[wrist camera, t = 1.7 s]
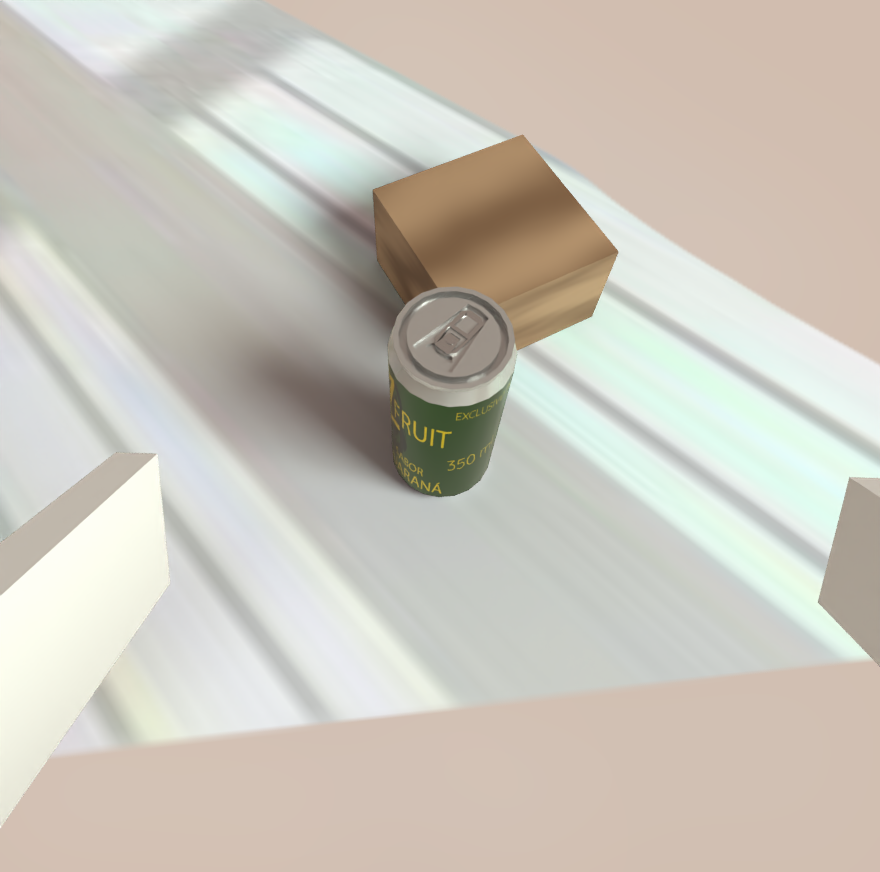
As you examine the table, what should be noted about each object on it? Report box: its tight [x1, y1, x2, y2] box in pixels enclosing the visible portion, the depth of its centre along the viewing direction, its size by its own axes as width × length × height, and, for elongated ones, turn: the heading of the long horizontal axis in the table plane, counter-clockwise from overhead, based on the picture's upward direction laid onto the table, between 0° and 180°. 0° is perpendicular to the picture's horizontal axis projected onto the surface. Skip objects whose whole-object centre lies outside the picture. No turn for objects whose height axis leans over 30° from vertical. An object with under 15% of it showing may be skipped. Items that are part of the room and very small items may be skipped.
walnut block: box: [373, 135, 618, 350], centre depth 40 cm, size 10×10×6 cm
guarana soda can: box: [388, 286, 517, 497], centre depth 33 cm, size 5×5×12 cm
